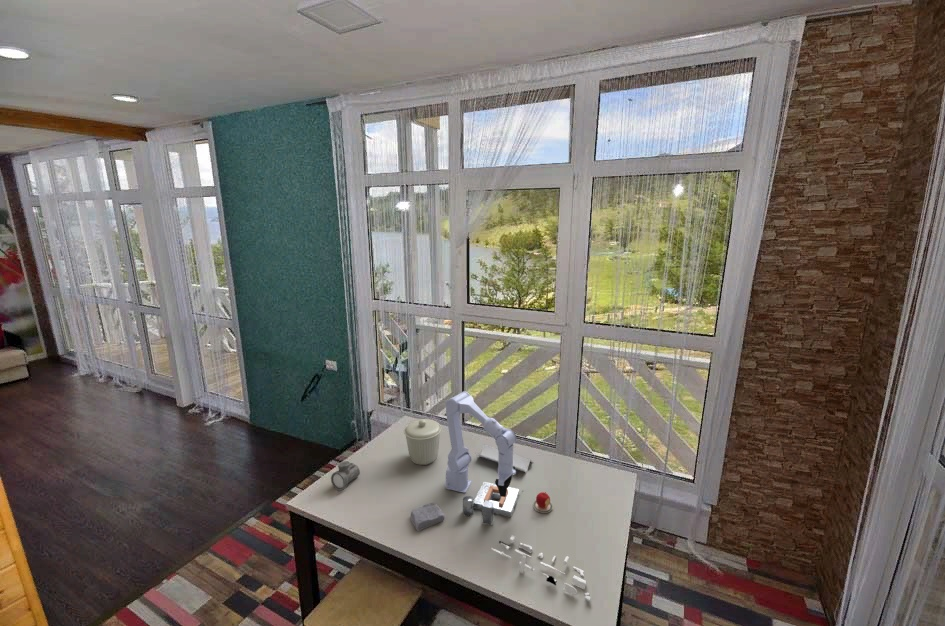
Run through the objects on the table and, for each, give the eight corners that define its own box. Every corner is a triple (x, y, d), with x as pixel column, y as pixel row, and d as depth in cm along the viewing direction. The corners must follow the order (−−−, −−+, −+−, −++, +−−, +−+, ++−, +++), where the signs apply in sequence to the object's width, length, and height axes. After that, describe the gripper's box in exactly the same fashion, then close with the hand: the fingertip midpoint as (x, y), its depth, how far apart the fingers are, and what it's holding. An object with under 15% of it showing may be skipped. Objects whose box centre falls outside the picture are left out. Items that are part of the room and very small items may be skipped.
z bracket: (484, 459, 207) (488, 447, 209) (529, 475, 194) (533, 462, 197) (475, 453, 197) (479, 440, 200) (522, 469, 185) (527, 456, 187)
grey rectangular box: (482, 523, 159) (482, 506, 157) (485, 517, 163) (485, 500, 160) (490, 525, 158) (490, 508, 156) (493, 519, 161) (493, 502, 159)
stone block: (408, 520, 164) (417, 532, 155) (407, 508, 164) (416, 520, 155) (436, 511, 169) (445, 522, 160) (435, 500, 169) (444, 511, 160)
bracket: (483, 501, 167) (483, 499, 167) (492, 483, 178) (492, 481, 178) (502, 506, 165) (502, 503, 165) (510, 487, 176) (510, 485, 176)
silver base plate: (473, 507, 168) (473, 502, 167) (483, 486, 180) (483, 481, 180) (510, 517, 162) (511, 511, 162) (519, 494, 175) (519, 489, 175)
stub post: (461, 514, 164) (461, 502, 162) (465, 507, 168) (464, 494, 166) (471, 517, 162) (471, 504, 161) (475, 509, 166) (475, 497, 165)
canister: (397, 461, 198) (395, 422, 193) (422, 444, 213) (420, 407, 207) (425, 475, 188) (424, 434, 183) (449, 455, 203) (448, 417, 197)
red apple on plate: (553, 501, 171) (554, 488, 169) (551, 515, 163) (552, 501, 162) (534, 498, 173) (534, 485, 171) (531, 511, 165) (532, 498, 164)
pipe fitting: (344, 492, 176) (342, 470, 175) (330, 488, 180) (329, 466, 179) (363, 479, 187) (362, 458, 186) (350, 475, 191) (349, 455, 189)
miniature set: (488, 558, 143) (502, 538, 154) (588, 609, 127) (596, 583, 137) (490, 542, 142) (504, 523, 153) (591, 591, 126) (599, 567, 136)
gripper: (511, 473, 152) (510, 504, 156) (519, 451, 165) (518, 480, 169) (493, 469, 154) (493, 500, 158) (502, 448, 167) (502, 476, 171)
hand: (505, 489), depth 163 cm, fingers open, 7 cm apart
